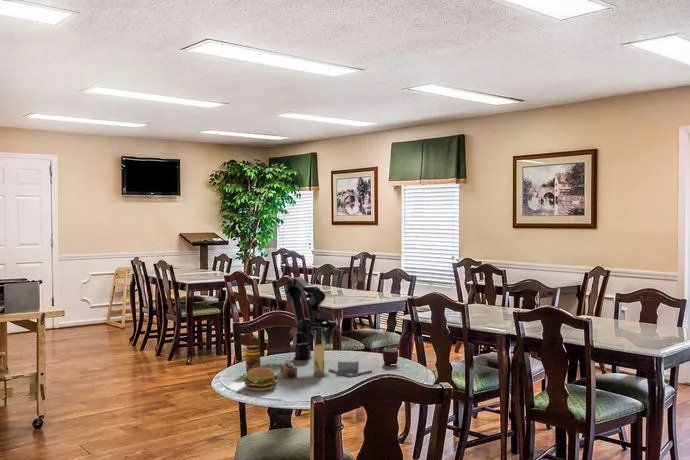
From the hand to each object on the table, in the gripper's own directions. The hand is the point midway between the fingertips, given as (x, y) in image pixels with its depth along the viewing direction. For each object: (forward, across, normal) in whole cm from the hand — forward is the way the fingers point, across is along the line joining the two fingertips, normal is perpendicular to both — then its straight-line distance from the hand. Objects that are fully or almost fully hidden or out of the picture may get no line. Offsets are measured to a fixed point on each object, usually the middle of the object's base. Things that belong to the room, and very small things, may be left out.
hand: (320, 343), depth 286 cm
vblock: (+14, +10, -3) cm, 17 cm away
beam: (+12, -14, +8) cm, 20 cm away
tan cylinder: (+15, -4, -1) cm, 16 cm away
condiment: (+7, -25, +19) cm, 32 cm away
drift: (+8, -15, +6) cm, 18 cm away
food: (+20, -34, 0) cm, 39 cm away
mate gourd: (+12, +33, -5) cm, 35 cm away
